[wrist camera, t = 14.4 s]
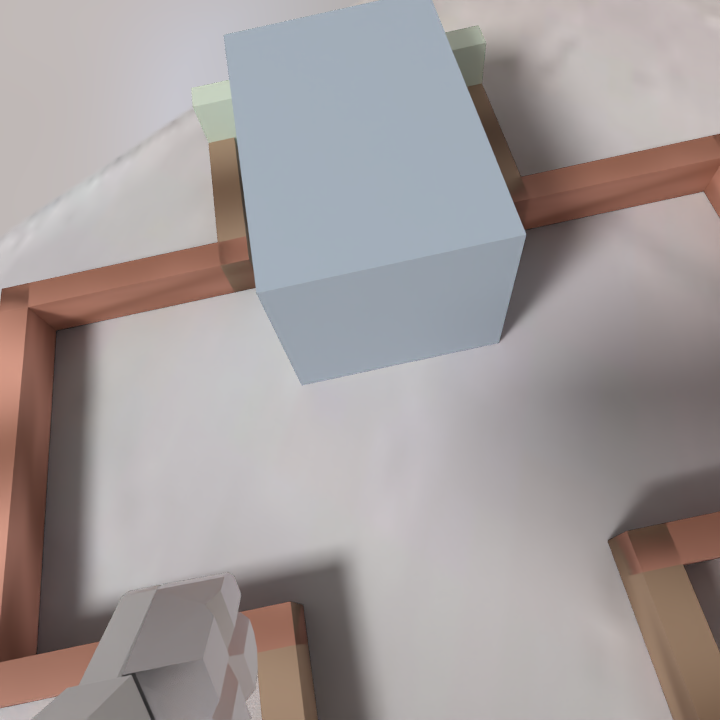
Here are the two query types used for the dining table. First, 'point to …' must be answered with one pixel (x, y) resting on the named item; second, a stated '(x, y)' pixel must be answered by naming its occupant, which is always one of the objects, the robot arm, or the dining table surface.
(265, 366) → the dining table surface
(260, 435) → the dining table surface
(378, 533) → the dining table surface
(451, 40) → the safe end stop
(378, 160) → the slate block
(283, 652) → the channel
